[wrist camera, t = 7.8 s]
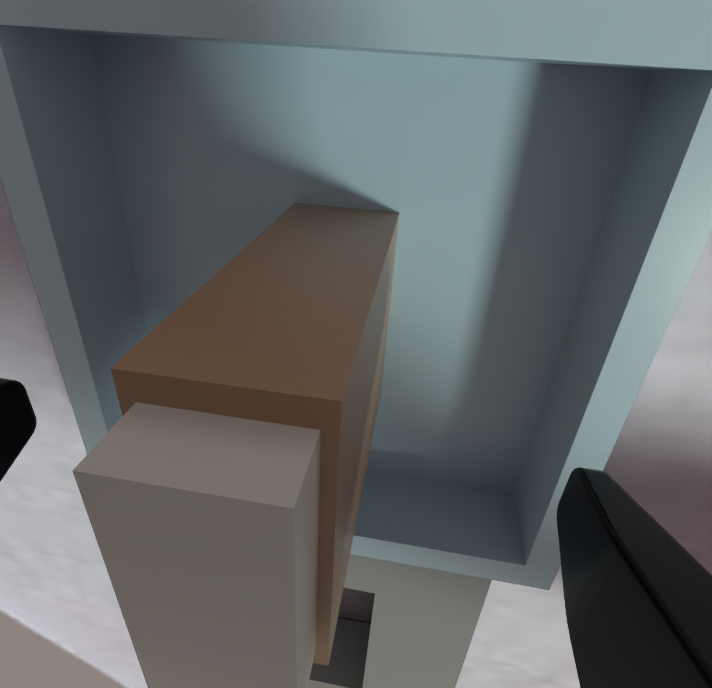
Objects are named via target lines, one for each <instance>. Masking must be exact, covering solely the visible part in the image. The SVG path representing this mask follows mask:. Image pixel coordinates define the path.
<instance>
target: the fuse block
mask: <svg viewBox="0 0 712 688" xmlns="http://www.w3.org/2000/svg"><path fill="white" fill-rule="evenodd" d="M490 583H491V579H486V578H480V577H475V576H469V575H464V574H458V573H453V572H447V571H442V570H436V569H431V568H425V567H420V566H414V565H409V564H403V563H398V562H392V561H387V560H381V559H375V558H370V557H364V556H359V555H353V554H350V557H349V562H348V567H347V572H346V578H345V583H344V588H348V589H354V590H359V591H364V592H369V593H375V596H374V604H373V611H372V619H371V624H369V623H364V622H359V621H354V620H348V619H343V618H338V619H337V624H336V629H335V635H334V640H333V645H332V650H331V655H330V660H329V666H326V665H322V664H317V663H313V664H312V669H311V673H310V678H309V682H308V687H307V688H455V686H456V683H457V680H458V677H459V674H460V672H461V669H462V666H463V663H464V660H465V657H466V654H467V651H468V648H469V645H470V642H471V639H472V636H473V633H474V630H475V627H476V624H477V621H478V619H479V616H480V613H481V610H482V607H483V604H484V601H485V598H486V595H487V592H488V589H489V586H490Z"/></svg>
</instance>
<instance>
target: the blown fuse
mask: <svg viewBox="0 0 712 688" xmlns="http://www.w3.org/2000/svg"><path fill="white" fill-rule="evenodd" d="M398 223H399V213H396V212H385V211H375V210H365V209H355V208H345V207H334V206H324V205H314V204H304V203H294V204H293V205H292V206H291V207H289V208H288V209H287V210H286V211H285V212H284V213H283V214H282V215H281V216H279V217H278V218H277V219H276V220H275V221H274V222H273V223H272V224H271V225H269V226H268V227H267V228H266V229H265V230H264V231H263V232H262V233H261V234H259V235H258V236H257V237H256V238H255V239H254V240H253V241H252V242H251V243H249V244H248V245H247V246H246V247H245V248H244V249H243V250H242V251H240V252H239V253H238V254H237V255H236V256H235V257H234V258H233V259H232V260H230V261H229V262H228V263H227V264H226V265H225V266H224V267H223V268H222V269H220V270H219V271H218V272H217V273H216V274H215V275H214V276H213V277H212V278H210V279H209V280H208V281H207V282H206V283H205V284H204V285H203V286H202V287H200V288H199V289H198V290H197V291H196V292H195V293H194V294H193V295H191V296H190V297H189V298H188V299H187V300H186V301H185V302H184V303H183V304H181V305H180V306H179V307H178V308H177V309H176V310H175V311H174V312H173V313H171V314H170V315H169V316H168V317H167V318H166V319H165V320H164V321H163V322H161V323H160V324H159V325H158V326H157V327H156V328H155V329H154V330H153V331H151V332H150V333H149V334H148V335H147V336H146V337H145V338H144V339H142V340H141V341H140V342H139V343H138V344H137V345H136V346H135V347H134V348H132V349H131V350H130V351H129V352H128V353H127V354H126V355H125V356H124V357H122V358H121V359H120V360H119V361H118V362H117V363H116V364H115V365H114V366H112V367H111V368H110V369H111V372H112V376H113V380H114V384H115V388H116V392H117V396H118V400H119V404H120V408H121V412H122V416H123V417H122V418H121V419H120V420H119V421H118V422H117V423H116V424H115V425H114V427H113V428H112V429H111V430H110V431H109V432H108V433H107V434H106V435H105V436H104V437H103V438H102V439H101V441H100V442H99V443H98V444H97V445H96V446H95V447H94V448H93V449H92V450H91V451H90V452H89V454H88V455H87V456H86V457H85V458H84V459H83V460H82V461H81V462H80V463H79V464H78V465H77V467H76V468H75V469H74V470H73V473H74V476H75V479H76V482H77V485H78V488H79V491H80V493H81V496H82V499H83V502H84V505H85V508H86V511H87V514H88V516H89V519H90V522H91V525H92V528H93V531H94V534H95V537H96V539H97V542H98V545H99V548H100V551H101V554H102V557H103V560H104V562H105V565H106V568H107V571H108V574H109V577H110V580H111V582H112V585H113V588H114V591H115V594H116V597H117V600H118V603H119V605H120V608H121V611H122V614H123V617H124V620H125V623H126V626H127V628H128V631H129V634H130V637H131V640H132V643H133V646H134V649H135V651H136V654H137V657H138V660H139V663H140V666H141V669H142V671H143V674H144V677H145V680H146V683H147V686H148V688H307V687H308V682H309V678H310V673H311V669H312V664H313V663H317V664H322V665H326V666H329V660H330V655H331V650H332V645H333V640H334V635H335V629H336V624H337V619H338V614H339V609H340V603H341V598H342V593H343V588H344V583H345V578H346V572H347V567H348V562H349V557H350V552H351V547H352V541H353V536H354V531H355V526H356V521H357V515H358V510H359V505H360V500H361V495H362V490H363V484H364V479H365V474H366V469H367V464H368V458H369V453H370V448H371V443H372V438H373V433H374V427H375V422H376V417H377V412H378V407H379V402H380V396H381V389H382V379H383V370H384V360H385V350H386V340H387V330H388V321H389V311H390V301H391V291H392V281H393V272H394V262H395V252H396V242H397V232H398Z"/></svg>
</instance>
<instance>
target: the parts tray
mask: <svg viewBox="0 0 712 688" xmlns="http://www.w3.org/2000/svg"><path fill="white" fill-rule="evenodd" d="M0 179H1V182H2V185H3V188H4V192H5V195H6V198H7V201H8V204H9V208H10V211H11V214H12V217H13V220H14V223H15V227H16V230H17V233H18V236H19V239H20V242H21V246H22V249H23V252H24V255H25V258H26V262H27V265H28V268H29V271H30V274H31V277H32V281H33V284H34V287H35V290H36V293H37V296H38V300H39V303H40V306H41V309H42V312H43V316H44V319H45V322H46V325H47V328H48V331H49V335H50V338H51V341H52V344H53V347H54V350H55V354H56V357H57V360H58V363H59V366H60V370H61V373H62V376H63V379H64V382H65V385H66V389H67V392H68V395H69V398H70V401H71V405H72V408H73V411H74V414H75V417H76V420H77V424H78V427H79V430H80V433H81V436H82V439H83V443H84V446H85V449H86V452H87V455H88V454H89V452H90V451H91V450H92V449H93V448H94V447H95V446H96V445H97V444H98V443H99V442H100V441H101V439H102V438H103V437H104V436H105V435H106V434H107V433H108V432H109V431H110V430H111V429H112V428H113V427H114V425H115V424H116V423H117V422H118V421H119V420H120V419H121V418H122V417H123V416H122V412H121V408H120V404H119V400H118V396H117V392H116V388H115V384H114V380H113V376H112V372H111V369H110V368H111V367H112V366H114V365H115V364H116V363H117V362H118V361H119V360H120V359H121V358H122V357H124V356H125V355H126V354H127V353H128V352H129V351H130V350H131V349H132V348H134V347H135V346H136V345H137V344H138V343H139V342H140V341H141V340H142V339H144V338H145V337H146V336H147V335H148V334H149V333H150V332H151V331H153V330H154V329H155V328H156V327H157V326H158V325H159V324H160V323H161V322H163V321H164V320H165V319H166V318H167V317H168V316H169V315H170V314H171V313H173V312H174V311H175V310H176V309H177V308H178V307H179V306H180V305H181V304H183V303H184V302H185V301H186V300H187V299H188V298H189V297H190V296H191V295H193V294H194V293H195V292H196V291H197V290H198V289H199V288H200V287H202V286H203V285H204V284H205V283H206V282H207V281H208V280H209V279H210V278H212V277H213V276H214V275H215V274H216V273H217V272H218V271H219V270H220V269H222V268H223V267H224V266H225V265H226V264H227V263H228V262H229V261H230V260H232V259H233V258H234V257H235V256H236V255H237V254H238V253H239V252H240V251H242V250H243V249H244V248H245V247H246V246H247V245H248V244H249V243H251V242H252V241H253V240H254V239H255V238H256V237H257V236H258V235H259V234H261V233H262V232H263V231H264V230H265V229H266V228H267V227H268V226H269V225H271V224H272V223H273V222H274V221H275V220H276V219H277V218H278V217H279V216H281V215H282V214H283V213H284V212H285V211H286V210H287V209H288V208H289V207H291V206H292V205H293V204H294V203H304V204H314V205H324V206H334V207H345V208H355V209H365V210H375V211H385V212H396V213H399V223H398V232H397V242H396V252H395V262H394V272H393V281H392V291H391V301H390V311H389V321H388V330H387V340H386V350H385V360H384V370H383V379H382V389H381V396H380V402H379V407H378V412H377V417H376V422H375V427H374V433H373V438H372V443H371V448H370V453H369V458H368V464H367V469H366V474H365V479H364V484H363V490H362V495H361V500H360V505H359V510H358V515H357V521H356V526H355V531H354V536H353V541H352V547H351V552H350V554H353V555H359V556H364V557H370V558H375V559H381V560H387V561H392V562H398V563H403V564H409V565H414V566H420V567H425V568H431V569H436V570H442V571H447V572H453V573H458V574H464V575H469V576H475V577H480V578H486V579H491V580H497V581H503V582H508V583H514V584H519V585H525V586H530V587H536V588H541V589H547V590H549V589H550V587H551V585H552V582H553V580H554V578H555V576H556V574H557V571H558V569H559V567H560V565H561V559H560V549H559V539H558V529H557V507H558V503H559V501H560V498H561V496H562V493H563V491H564V488H565V486H566V484H567V481H568V479H569V476H570V474H571V472H572V471H573V470H574V469H575V468H578V467H582V468H588V469H595V470H601V471H603V469H604V467H605V465H606V463H607V461H608V458H609V456H610V454H611V452H612V449H613V447H614V445H615V443H616V441H617V438H618V436H619V434H620V432H621V430H622V427H623V425H624V423H625V421H626V418H627V416H628V414H629V412H630V410H631V407H632V405H633V403H634V401H635V398H636V396H637V394H638V392H639V390H640V387H641V385H642V383H643V381H644V379H645V376H646V374H647V372H648V370H649V367H650V365H651V363H652V361H653V359H654V356H655V354H656V352H657V350H658V347H659V345H660V343H661V341H662V339H663V336H664V334H665V332H666V330H667V328H668V325H669V323H670V321H671V319H672V316H673V314H674V312H675V310H676V308H677V305H678V303H679V301H680V299H681V297H682V294H683V292H684V290H685V288H686V285H687V283H688V281H689V279H690V277H691V274H692V272H693V270H694V268H695V265H696V263H697V261H698V259H699V257H700V254H701V252H702V250H703V248H704V246H705V243H706V241H707V239H708V237H709V234H710V232H711V230H712V0H0Z"/></svg>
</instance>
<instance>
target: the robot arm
mask: <svg viewBox="0 0 712 688" xmlns="http://www.w3.org/2000/svg"><path fill="white" fill-rule="evenodd" d="M35 428H36V416H35V414H34V411H33V408H32V405H31V403H30V400H29V397H28V395H27V392H26V389H25V387H24V386H23V385H22V384H21V383H20V382H18V381H15V380H9V379H3V378H0V481H1V480H2V478H3V477H4V475H5V474H6V473H7V471H8V470H9V468H10V467H11V465H12V464H13V462H14V461H15V459H16V458H17V456H18V455H19V453H20V452H21V451H22V449H23V448H24V446H25V445H26V443H27V442H28V440H29V439H30V437H31V436H32V434H33V433H34V430H35ZM557 529H558V539H559V549H560V559H561V569H562V579H563V589H564V599H565V608H566V616H567V624H568V629H569V634H570V640H571V645H572V649H573V654H574V659H575V663H576V668H577V673H578V678H579V682H580V687H581V688H712V575H711V574H710V573H709V572H708V571H707V570H706V569H705V568H704V567H703V566H702V565H701V564H700V563H699V562H698V561H697V560H696V559H695V558H694V557H693V556H692V555H691V554H690V553H689V552H688V551H687V550H686V549H685V548H684V547H683V546H682V545H681V544H679V543H678V542H677V541H676V540H675V539H674V538H673V537H672V536H671V535H670V534H669V533H668V532H667V531H666V530H665V529H664V528H663V527H662V526H661V525H660V524H659V523H658V522H657V521H656V520H655V519H654V518H653V517H652V516H651V515H650V514H649V513H648V512H646V511H645V510H644V509H643V508H642V507H641V506H640V505H639V504H638V503H637V502H636V501H635V500H634V499H633V498H632V497H631V496H630V495H629V494H628V493H627V492H626V491H625V490H624V489H623V488H622V487H621V486H620V485H619V484H618V483H617V482H616V481H615V480H613V479H612V478H611V477H610V476H609V475H608V474H607V473H605V472H604V471H601V470H595V469H588V468H582V467H578V468H575V469H574V470H573V471H572V472H571V474H570V476H569V479H568V481H567V484H566V486H565V488H564V491H563V493H562V496H561V498H560V501H559V503H558V507H557Z"/></svg>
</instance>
